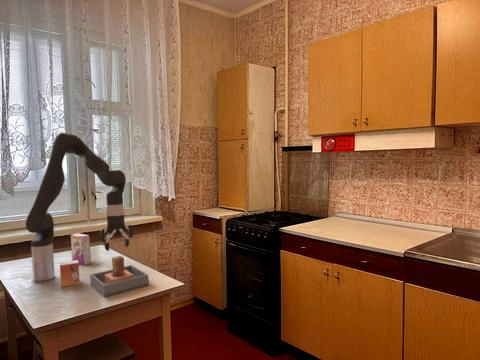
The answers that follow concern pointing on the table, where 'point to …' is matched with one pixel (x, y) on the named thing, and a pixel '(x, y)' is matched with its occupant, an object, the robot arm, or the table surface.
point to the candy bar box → (81, 248)
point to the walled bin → (118, 281)
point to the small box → (69, 273)
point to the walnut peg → (118, 266)
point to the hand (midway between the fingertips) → (117, 248)
